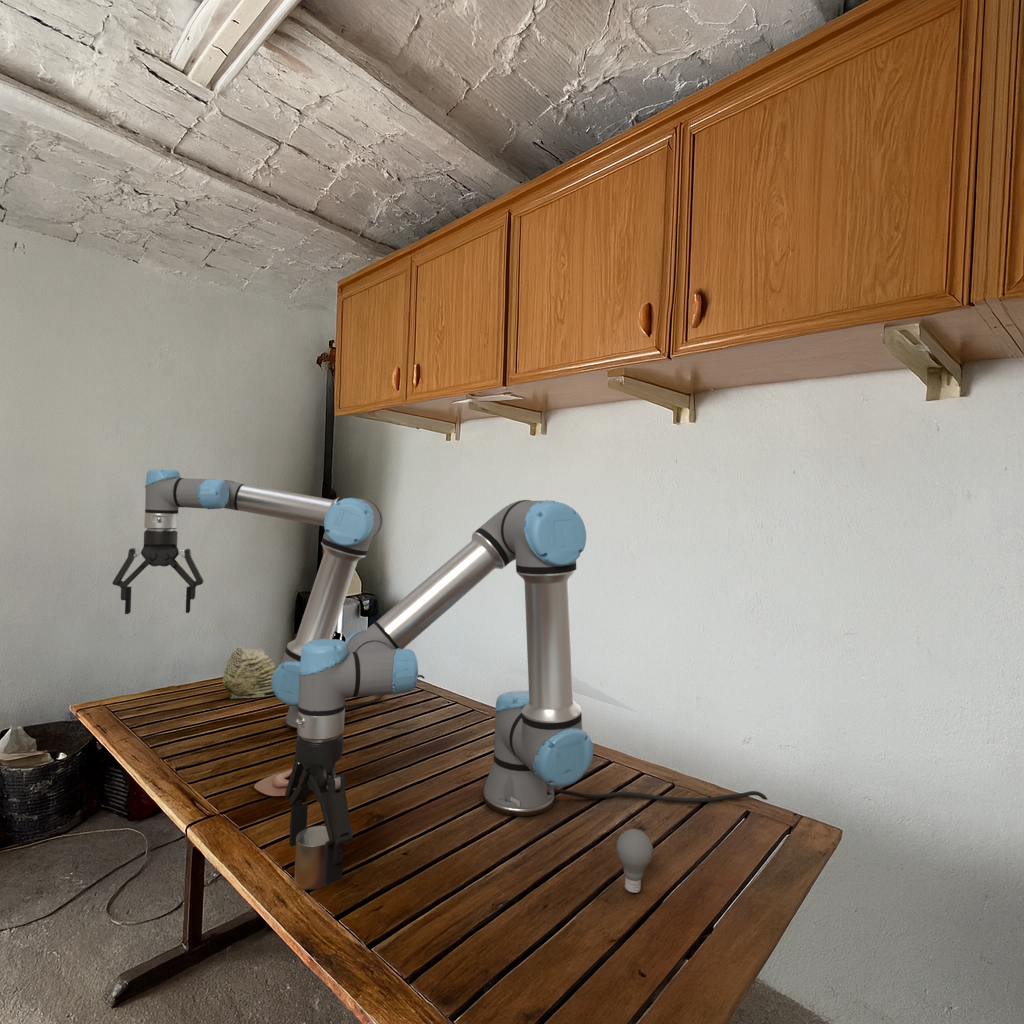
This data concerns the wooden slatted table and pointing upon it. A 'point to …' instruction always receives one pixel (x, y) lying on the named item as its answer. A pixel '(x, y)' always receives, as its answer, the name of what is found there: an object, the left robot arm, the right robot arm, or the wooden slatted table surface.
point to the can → (311, 858)
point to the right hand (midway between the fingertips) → (314, 861)
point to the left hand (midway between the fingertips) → (158, 612)
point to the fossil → (249, 673)
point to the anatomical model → (274, 784)
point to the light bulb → (634, 857)
